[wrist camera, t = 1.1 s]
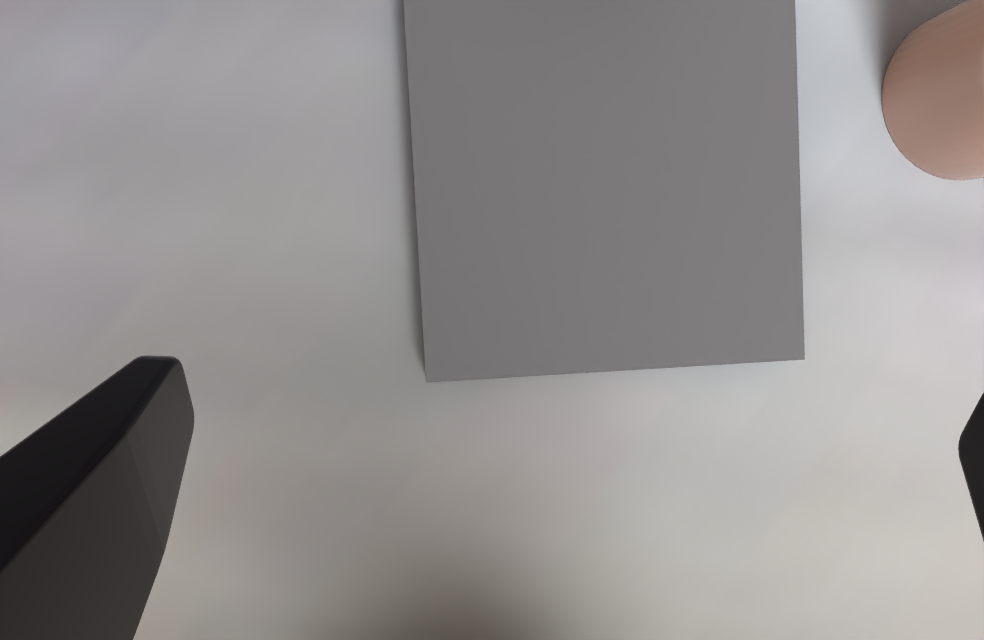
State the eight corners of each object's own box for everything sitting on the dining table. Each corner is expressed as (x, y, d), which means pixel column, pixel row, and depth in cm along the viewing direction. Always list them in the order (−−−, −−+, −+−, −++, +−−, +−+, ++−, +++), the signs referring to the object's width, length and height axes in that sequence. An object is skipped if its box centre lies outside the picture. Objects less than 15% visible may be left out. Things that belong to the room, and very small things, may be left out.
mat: (790, 355, 25) (804, 359, 24) (426, 377, 25) (425, 382, 24) (780, -17, 25) (794, -29, 24) (404, -3, 24) (402, -15, 23)
